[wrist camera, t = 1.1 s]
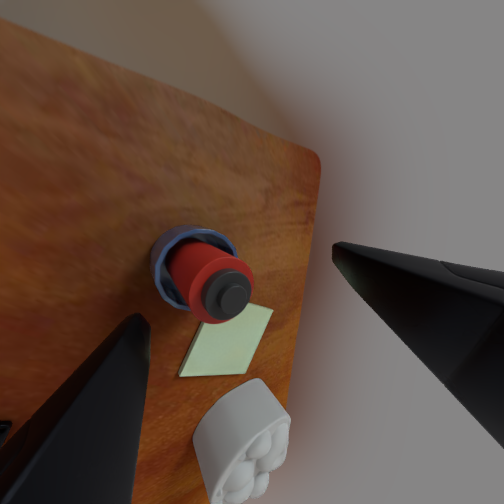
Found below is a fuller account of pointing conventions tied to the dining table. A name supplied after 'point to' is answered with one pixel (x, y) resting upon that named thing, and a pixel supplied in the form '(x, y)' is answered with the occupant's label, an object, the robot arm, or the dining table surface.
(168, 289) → the cup
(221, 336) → the tile
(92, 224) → the dining table surface
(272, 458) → the lumpy-topped squat cylinder
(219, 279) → the bottle
